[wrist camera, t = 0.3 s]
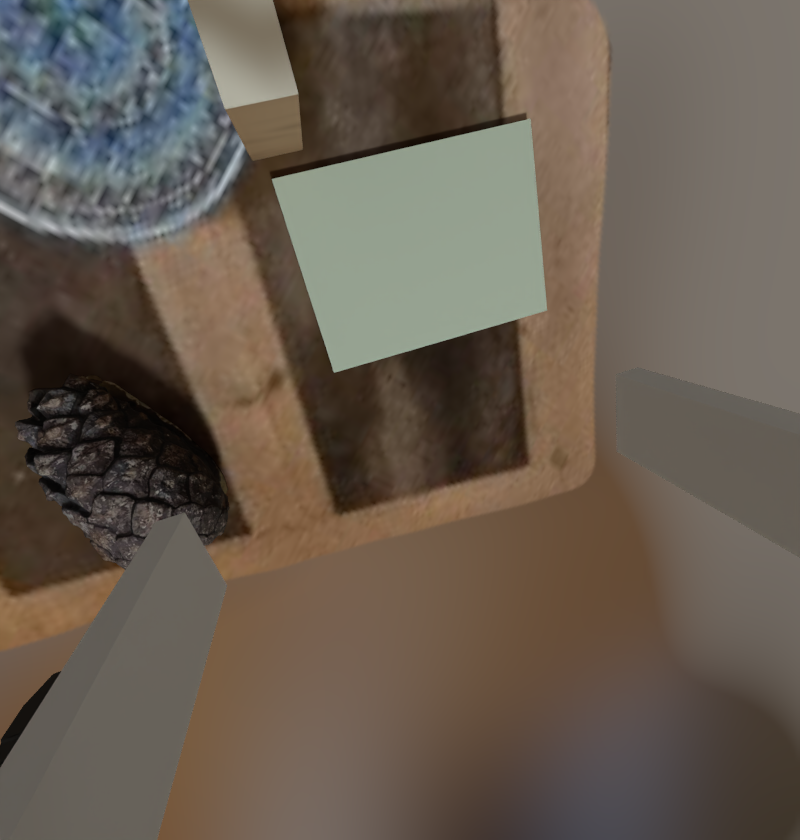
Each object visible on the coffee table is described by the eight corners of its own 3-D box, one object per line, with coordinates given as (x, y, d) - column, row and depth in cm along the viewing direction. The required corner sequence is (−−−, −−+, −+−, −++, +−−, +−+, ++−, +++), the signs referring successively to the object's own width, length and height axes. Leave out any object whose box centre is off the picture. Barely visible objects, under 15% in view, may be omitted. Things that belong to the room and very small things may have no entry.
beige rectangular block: (214, 45, 27) (162, -76, 18) (270, 35, 27) (248, -89, 18) (252, 160, 29) (224, 107, 20) (302, 149, 30) (298, 92, 21)
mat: (272, 180, 30) (271, 179, 30) (526, 121, 32) (530, 118, 32) (333, 371, 36) (334, 372, 36) (543, 309, 39) (546, 310, 38)
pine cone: (96, 348, 32) (8, 377, 22) (260, 480, 39) (243, 543, 29) (10, 429, 32) (-110, 489, 23) (186, 544, 39) (147, 626, 30)
